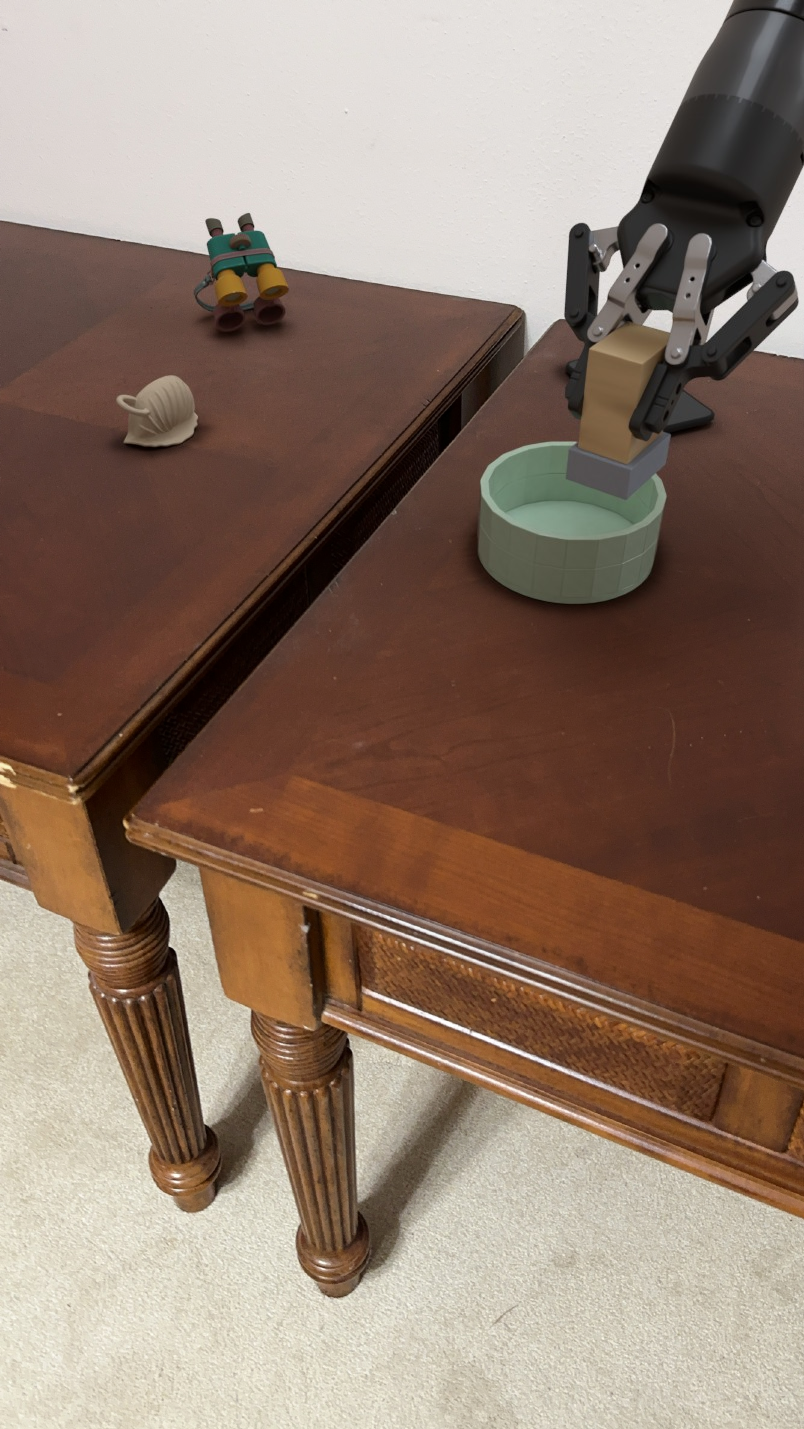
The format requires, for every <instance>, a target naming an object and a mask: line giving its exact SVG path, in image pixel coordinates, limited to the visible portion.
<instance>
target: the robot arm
mask: <svg viewBox="0 0 804 1429" xmlns="http://www.w3.org/2000/svg"><path fill="white" fill-rule="evenodd" d="M803 169H804V0H732V3H731V5H730V6H729V9H728V11H727V13H726V15H725V18H724V20H723V22H722V23H721V26H720V28H719V29H718V32H717V34H716V36H715V37H714V39H713V41H712V42H711V44H710V46H709V47H708V49H707V50H706V52H705V54H704V55H703V57H702V58H701V60H700V62H699V63H698V66H696V69H695V71H694V73H693V76H692V77H691V80H690V82H689V84H688V87H687V89H686V91H685V93H684V96H683V98H682V100H681V102H680V104H679V106H678V108H677V111H676V113H675V115H674V117H673V119H672V122H671V124H670V126H669V128H668V130H667V133H666V134H665V137H664V138H663V141H662V143H661V145H660V148H659V150H658V152H657V154H656V157H655V159H654V161H653V163H652V165H651V167H650V170H649V171H648V174H647V176H646V178H645V181H644V184H643V187H642V190H641V193H640V196H639V198H638V201H637V202H636V204H635V205H634V206H633V207H632V208H631V210H629V211H628V212H627V213H626V214H625V215H624V216H623V217H622V218H621V219H620V221H619V223H618V225H617V226H611V227H606V228H600V229H594V230H591V228H590V226H589V225H588V224H587V223H585V222H578V223H575V224H574V225H573V226H572V227H571V229H570V230H569V233H568V245H567V246H568V248H567V260H566V262H567V263H566V278H565V295H564V312H563V317H564V320H565V321H566V323H567V324H568V326H569V328H570V329H571V331H572V332H573V333H574V335H575V337H576V338H577V340H578V341H580V342H583V343H584V346H583V348H582V350H581V353H580V355H579V358H578V362H577V364H576V366H575V368H574V370H573V373H572V375H570V377H569V379H568V381H567V383H566V386H565V391H564V398H565V399H566V401H567V410H568V411H569V413H570V414H571V415H572V416H573V418H574V419H576V420H580V421H581V417H582V409H583V400H584V390H585V381H586V372H587V363H588V354H589V349H590V348H591V347H592V346H593V345H595V344H596V343H598V342H599V341H601V340H602V339H603V338H605V337H606V336H608V335H609V334H610V333H612V332H613V331H615V330H616V329H617V328H619V327H620V326H622V325H623V324H624V323H626V322H627V321H629V322H633V323H637V324H640V325H644V324H645V322H646V320H647V319H648V318H649V316H650V315H651V313H652V312H653V311H668V312H670V313H671V314H672V315H671V317H672V318H671V320H672V324H671V328H670V336H669V339H668V343H667V347H666V351H665V359H664V361H663V363H662V364H659V363H657V364H656V367H655V369H654V371H653V373H652V375H651V377H650V379H649V382H648V384H647V386H646V388H645V390H644V392H643V394H642V397H641V399H640V401H639V403H638V405H637V407H636V409H635V410H634V412H633V414H632V416H631V419H630V421H629V430H630V432H631V433H632V434H633V435H634V437H635V438H637V439H640V440H643V441H648V440H649V439H650V437H651V435H652V433H657V434H659V433H660V432H661V431H662V430H663V429H664V428H665V427H666V426H667V423H668V421H669V419H670V416H671V415H672V413H673V410H674V408H675V406H676V404H677V402H678V400H679V398H680V396H681V393H682V391H683V390H685V387H686V386H687V384H688V383H689V382H691V381H692V380H695V379H697V378H710V379H711V380H713V381H716V382H717V381H719V382H720V381H723V380H725V379H726V378H727V377H728V376H729V375H731V373H732V372H733V371H734V370H736V369H737V367H739V366H740V365H741V363H743V362H744V361H745V360H746V359H747V358H748V357H749V356H750V355H751V354H752V353H753V352H754V351H755V350H756V349H757V348H758V347H759V346H760V345H761V344H762V343H763V342H764V341H766V339H767V338H768V337H769V336H770V335H771V334H772V333H773V332H774V331H775V330H777V328H778V327H779V326H780V325H781V324H783V322H784V321H785V320H786V319H787V318H788V317H789V316H790V315H791V314H792V313H793V312H794V311H795V310H796V309H797V308H798V306H799V302H800V301H799V295H798V294H799V292H798V288H797V284H796V281H795V278H794V275H793V273H792V272H791V271H788V270H777V269H775V268H774V267H773V266H772V265H771V264H770V263H768V262H767V261H768V258H767V245H768V242H769V240H770V238H771V236H772V235H773V232H774V231H775V228H776V226H777V224H778V222H779V220H780V218H781V216H782V213H783V211H784V209H785V207H786V205H787V203H788V200H789V198H790V197H791V195H792V192H793V190H794V187H795V186H796V183H797V181H798V179H799V176H800V175H801V172H802V170H803ZM618 251H619V253H620V254H619V255H620V260H621V264H622V270H621V272H620V273H619V274H618V276H617V278H616V279H615V280H614V282H613V284H612V285H611V287H610V288H609V290H608V293H607V296H606V302H605V303H604V305H603V306H602V308H601V309H600V311H598V310H599V294H600V278H601V277H600V275H601V273H604V272H606V271H607V270H608V268H609V266H610V264H611V259H612V257H613V256H614V254H615V253H617V252H618ZM750 285H751V286H750ZM748 286H750V287H749V288H748V290H747V292H746V300H747V301H746V302H745V303H744V304H743V305H742V306H741V307H740V308H739V309H738V310H737V311H735V313H733V315H732V316H731V317H730V318H729V319H728V320H727V321H726V322H725V323H723V325H722V326H721V327H719V329H717V331H716V332H715V333H714V334H713V335H712V336H710V338H708V336H709V332H710V328H711V324H712V320H713V317H714V313H715V309H716V308H717V307H719V306H720V305H722V304H724V303H725V302H726V301H728V300H729V299H731V298H732V297H734V296H735V295H736V294H738V293H739V292H740V291H742V290H743V289H745V288H747V287H748ZM707 339H708V340H707Z"/></svg>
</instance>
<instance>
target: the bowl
mask: <svg viewBox="0 0 804 1429" xmlns="http://www.w3.org/2000/svg"><path fill="white" fill-rule="evenodd" d="M577 442H578V441H544V442H537V443H532V444H526V445H523V446H521V447H518V448H517V447H516V448H515V449H512V450H510V451H507V452H505V453H502V454H501V455H500V456H499V457H497V458H496V459H494V460H493V461H492V462H491V463H489V464H488V465H487V466H486V469H485V470H484V472H483V474H482V475H481V478H480V481H479V494H478V495H479V496H478V515H477V533H476V534H477V535H476V537H477V539H476V540H477V545H476V546H477V548H476V549H477V556H478V558H479V561H480V563H481V565H482V566H483V568H484V569H485V571H486V572H487V573H488V574H489V576H490V577H492V578H493V579H494V580H495V581H496V582H498V583H499V584H500V585H501V586H504V587H506V588H507V589H509V590H510V591H513V592H515V593H517V594H520V595H521V596H525V597H529V598H531V599H534V600H539V601H542V602H548V603H555V604H566V605H583V604H595V603H600V602H606V601H609V600H612V599H616V598H619V597H621V596H624V595H626V594H628V593H630V592H632V591H634V590H635V589H636V588H638V587H639V586H641V585H642V584H643V582H645V580H647V579H648V577H649V575H650V574H651V572H652V569H653V567H654V563H655V558H656V555H657V550H658V545H659V540H660V534H661V530H662V525H663V524H662V523H663V518H664V513H665V507H666V503H667V497H668V495H667V492H666V489H665V486H664V483H663V480H662V478H660V476H659V475H658V474H657V472H656V473H655V474H654V475H653V476H652V477H651V478H650V479H649V480H648V481H647V482H646V483H644V484H643V485H642V486H641V487H640V488H639V489H638V490H637V491H636V492H635V493H633V494H632V495H631V496H630V497H629V498H628V499H627V500H624V499H621V498H618V497H615V496H613V495H610V494H607V493H604V492H601V491H598V490H596V489H593V488H590V487H587V486H584V485H581V484H579V483H576V482H573V481H570V480H567V479H566V471H567V462H568V453H569V448H571V447H572V446H573V445H574V444H576V443H577Z"/></svg>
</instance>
